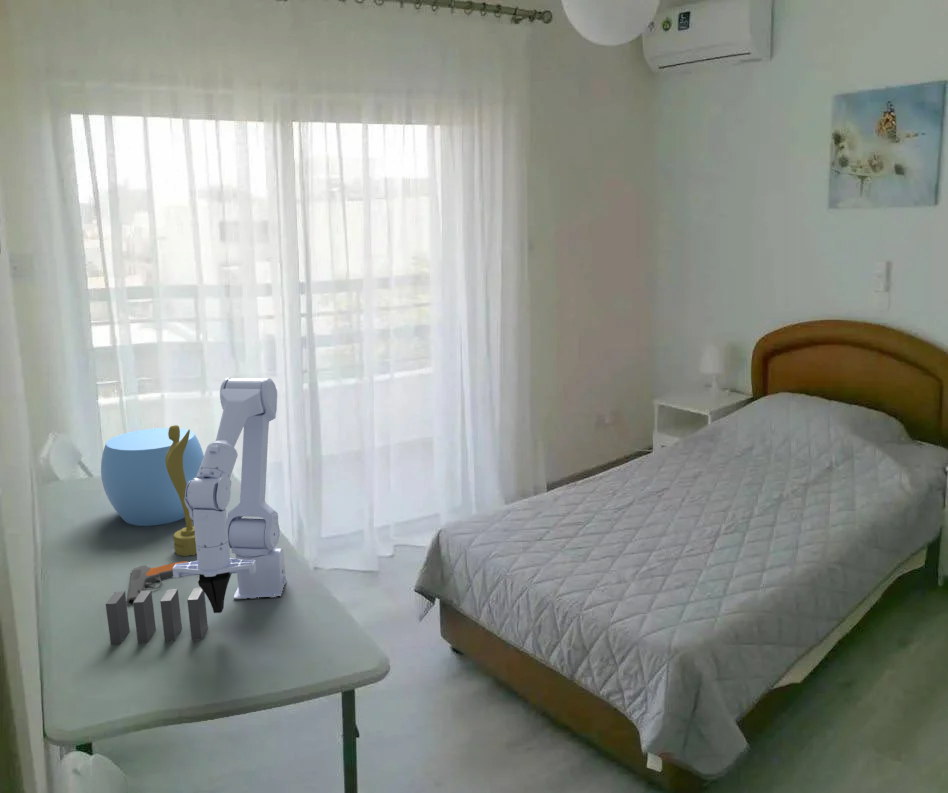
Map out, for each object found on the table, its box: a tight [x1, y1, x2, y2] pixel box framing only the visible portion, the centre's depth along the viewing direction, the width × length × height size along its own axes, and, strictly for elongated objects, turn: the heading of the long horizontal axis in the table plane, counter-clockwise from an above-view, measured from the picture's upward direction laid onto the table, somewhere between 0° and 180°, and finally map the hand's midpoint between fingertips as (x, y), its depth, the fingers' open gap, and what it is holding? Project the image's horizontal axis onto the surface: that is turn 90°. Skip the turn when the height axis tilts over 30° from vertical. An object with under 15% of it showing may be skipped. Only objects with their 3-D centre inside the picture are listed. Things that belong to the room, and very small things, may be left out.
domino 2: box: [159, 588, 183, 643], centre depth 153 cm, size 2×5×8 cm, turn 4°
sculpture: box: [165, 424, 197, 557], centre depth 190 cm, size 11×7×30 cm, turn 42°
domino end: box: [105, 591, 131, 645], centre depth 153 cm, size 2×5×8 cm, turn 4°
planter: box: [100, 427, 204, 527], centre depth 215 cm, size 25×25×20 cm
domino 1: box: [132, 590, 157, 644], centre depth 153 cm, size 2×5×8 cm, turn 4°
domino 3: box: [187, 587, 209, 641], centre depth 154 cm, size 2×5×8 cm, turn 4°
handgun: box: [126, 560, 189, 605], centre depth 176 cm, size 2×16×12 cm
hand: (218, 610), depth 154 cm, fingers closed
